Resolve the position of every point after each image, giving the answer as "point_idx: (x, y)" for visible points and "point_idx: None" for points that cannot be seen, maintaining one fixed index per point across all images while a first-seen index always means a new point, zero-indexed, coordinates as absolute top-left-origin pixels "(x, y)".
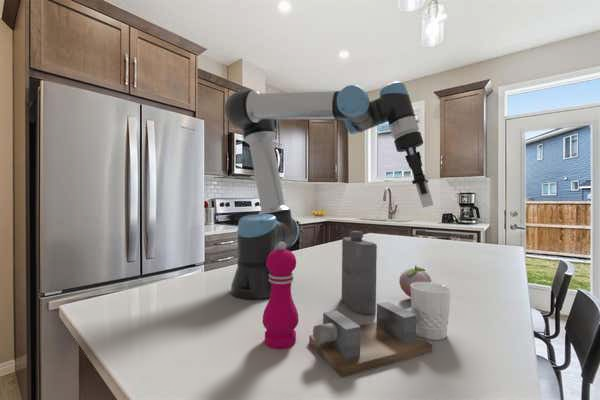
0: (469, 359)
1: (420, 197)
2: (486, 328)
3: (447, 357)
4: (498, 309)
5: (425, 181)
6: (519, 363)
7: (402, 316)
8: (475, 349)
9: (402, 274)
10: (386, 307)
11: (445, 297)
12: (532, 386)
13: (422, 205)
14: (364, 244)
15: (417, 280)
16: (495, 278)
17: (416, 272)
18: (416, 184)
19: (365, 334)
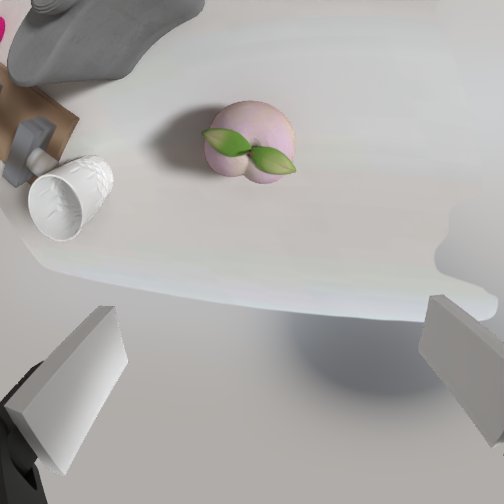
0: None
1: (66, 343)
2: (161, 252)
3: None
4: (268, 278)
5: (44, 464)
6: (84, 270)
7: (3, 172)
8: (84, 234)
9: (233, 112)
10: (14, 142)
11: (49, 230)
12: (53, 270)
13: (94, 313)
14: (7, 63)
15: (206, 154)
16: (455, 292)
17: (224, 154)
18: (10, 408)
19: (19, 113)
